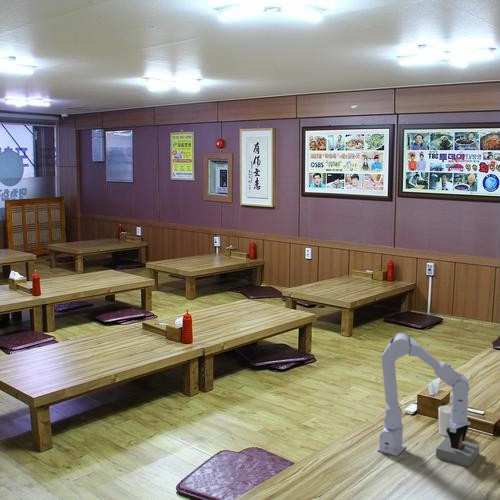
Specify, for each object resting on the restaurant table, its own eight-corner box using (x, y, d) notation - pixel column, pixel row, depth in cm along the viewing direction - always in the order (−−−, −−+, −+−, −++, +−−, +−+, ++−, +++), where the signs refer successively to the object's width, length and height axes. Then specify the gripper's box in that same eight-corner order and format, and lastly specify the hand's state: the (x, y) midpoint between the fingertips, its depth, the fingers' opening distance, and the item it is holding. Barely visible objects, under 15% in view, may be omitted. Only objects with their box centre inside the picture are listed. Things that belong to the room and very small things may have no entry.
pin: (460, 458, 221) (460, 437, 220) (451, 455, 223) (452, 435, 222) (462, 455, 223) (463, 434, 222) (454, 452, 225) (455, 432, 224)
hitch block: (469, 466, 215) (469, 457, 214) (436, 457, 222) (436, 448, 221) (478, 453, 224) (479, 444, 224) (446, 445, 231) (446, 436, 231)
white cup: (461, 432, 242) (462, 409, 241) (453, 439, 236) (453, 415, 235) (443, 427, 248) (443, 404, 246) (434, 433, 242) (434, 409, 240)
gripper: (464, 418, 213) (463, 454, 214) (476, 404, 224) (474, 439, 226) (444, 413, 217) (443, 449, 218) (457, 400, 228) (455, 435, 230)
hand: (458, 444), depth 223 cm, fingers open, 7 cm apart
